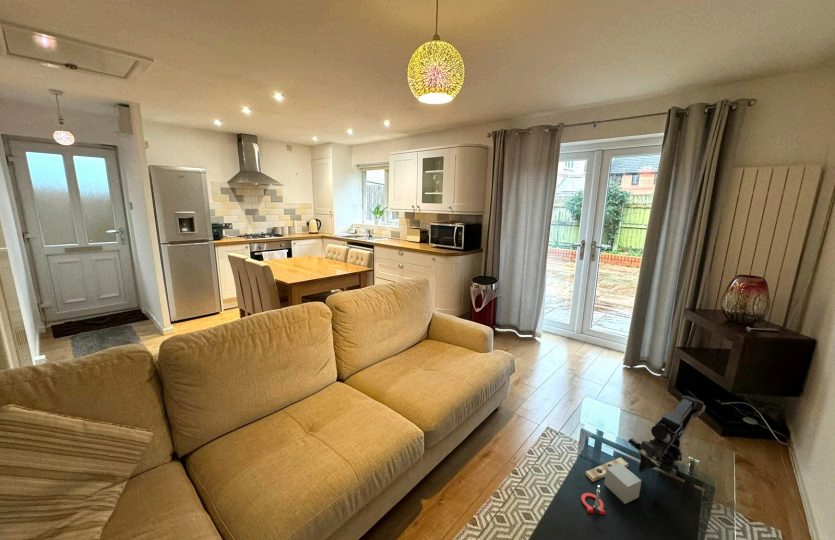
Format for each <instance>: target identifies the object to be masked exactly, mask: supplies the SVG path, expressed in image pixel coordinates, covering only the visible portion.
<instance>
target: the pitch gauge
mask: <svg viewBox="0 0 835 540" xmlns="http://www.w3.org/2000/svg"><path fill="white" fill-rule="evenodd" d="M618 463H621V464H622V465H623V466H625V467H626V468H628V467H629V462H627V461H626V460H624V459H623V458H622V457H618V458H616V459H613V460H611V461H608V462H605V463H603V464H601V465H598V466H596V467H594V468H592V469H589V470H586V471H585V475H586V476H587V478H588V479H590V481H591V482H596V481H597V480H601V479H602V478H605V476H606V469H607V468H608V467H610V466H613V465H615V464H618Z"/></svg>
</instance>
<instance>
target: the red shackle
mask: <svg viewBox="0 0 835 540" xmlns="http://www.w3.org/2000/svg"><path fill="white" fill-rule="evenodd" d="M600 488H601V486H600V485H597V489H596V491H595V492H596V494H593V493H591V492H584V493H583V494H581V497H580V501H581V503H582V505H583V506H584V507H585V508H586V512H587V513H590V514H594V515H595V514H596V515H606V511H605V510H604V506H605V504H604V502H603V500H602V499H601V498H600V494H601V489H600ZM586 498H592V499H594V505H592V506H591V505H590V504H589V503H588V502H587V501H586Z"/></svg>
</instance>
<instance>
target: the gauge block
mask: <svg viewBox="0 0 835 540" xmlns="http://www.w3.org/2000/svg"><path fill="white" fill-rule="evenodd" d="M603 485H604V486H605V487H606V488H607V489H608V490H609V491H611V492H612V493H613V494H614V495H615V496H616V497H617V498H618V499H619V500H620V501H621V502H622V503H623V504H624V505H626V504H627V503H630V502H632V501H635V500H636V499H638V498H639V496H640V491H641V486H642V479H641V478H639V477H638V476H637V475H636V474H634V473H633V472H632V471H630V470H629V469H628V467H625V466H623V465H622V464H621V463H618V464H615V465H613V466H610V467H608V468H607V469H606V476H605V477H604V484H603Z"/></svg>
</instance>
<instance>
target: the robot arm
mask: <svg viewBox="0 0 835 540" xmlns="http://www.w3.org/2000/svg"><path fill="white" fill-rule="evenodd" d="M706 407H707V406H706V405H705V404H704V402H703V401H702V400H700V399H696V398H695V397H692V396H690V395H682V396H681V399H680V401H679V403H678V405H676V407H675V408H674V409H673V411H672V412H669V413H665V415H663V416H661V417H660V418H659V419H658V421H656V423H655V425H654V426H652V427H651V430H650V432H651V435H652V436H653V437H654V438H653V439H649V441H648V440H647V441H645V440H642V441H641V443H640V442H638V441H637V440H636V439H634V438H633V437H632V438H629V439H628V441H627V443H629V444H630V446H632V447H634V449H636V450H637V451H638V453H639V454H640V462H639V467H638V472H639V473H643V472H646V471H649V470H650V469H655V468H658V469H660V468H662V469H663V470H665V472H666V473H667V474H668V475H670V476H672V477H673V478H675V477H676V475H677V469H679V468H678V467H680V466H678V465H677V464H676V463H677V462H682V461H683V451H682V446H681V441H682V439H683V437H684V435H685V433H686V431H687V429H688V428H689V427H690V425H691V423H692V421H693V419H694V418H698V417H700V416H701V415H702V413H704V412H705V410H706ZM676 468H677V469H676Z"/></svg>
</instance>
